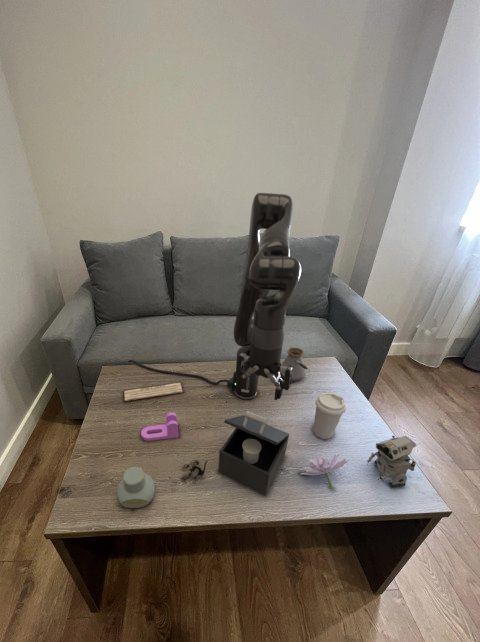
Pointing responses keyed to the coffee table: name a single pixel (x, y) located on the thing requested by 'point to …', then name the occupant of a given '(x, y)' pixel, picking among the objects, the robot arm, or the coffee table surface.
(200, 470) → the creature
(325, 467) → the water lily
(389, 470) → the figurine
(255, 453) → the coffee pod
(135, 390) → the wooden plank
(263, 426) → the lid
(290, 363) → the coffee pot
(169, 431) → the bracket
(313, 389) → the coffee table surface
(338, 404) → the coffee cup
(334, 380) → the coffee table surface
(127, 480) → the air freshener
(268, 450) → the open lidded box
